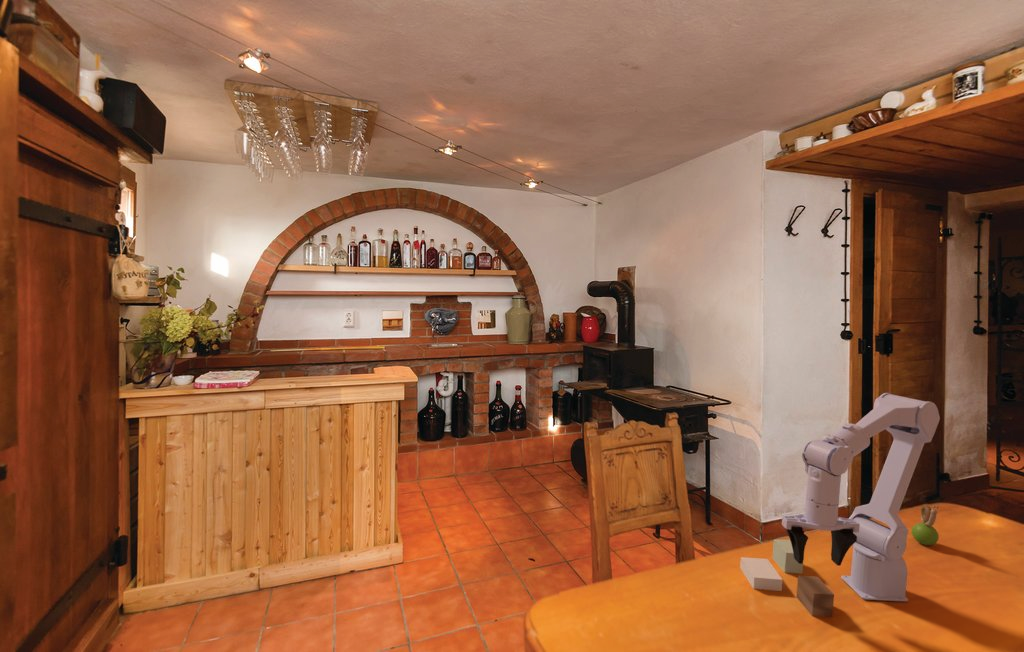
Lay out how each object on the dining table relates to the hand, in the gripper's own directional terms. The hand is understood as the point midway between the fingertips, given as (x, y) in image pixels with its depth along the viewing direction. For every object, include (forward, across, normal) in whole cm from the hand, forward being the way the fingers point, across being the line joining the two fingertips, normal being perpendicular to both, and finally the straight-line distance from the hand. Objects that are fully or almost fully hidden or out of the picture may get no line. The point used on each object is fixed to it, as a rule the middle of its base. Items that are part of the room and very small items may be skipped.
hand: (817, 561), depth 101 cm
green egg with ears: (+10, -44, -28) cm, 53 cm away
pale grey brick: (+10, +7, -9) cm, 15 cm away
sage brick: (+10, -2, -15) cm, 18 cm away
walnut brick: (+10, 0, 0) cm, 10 cm away
